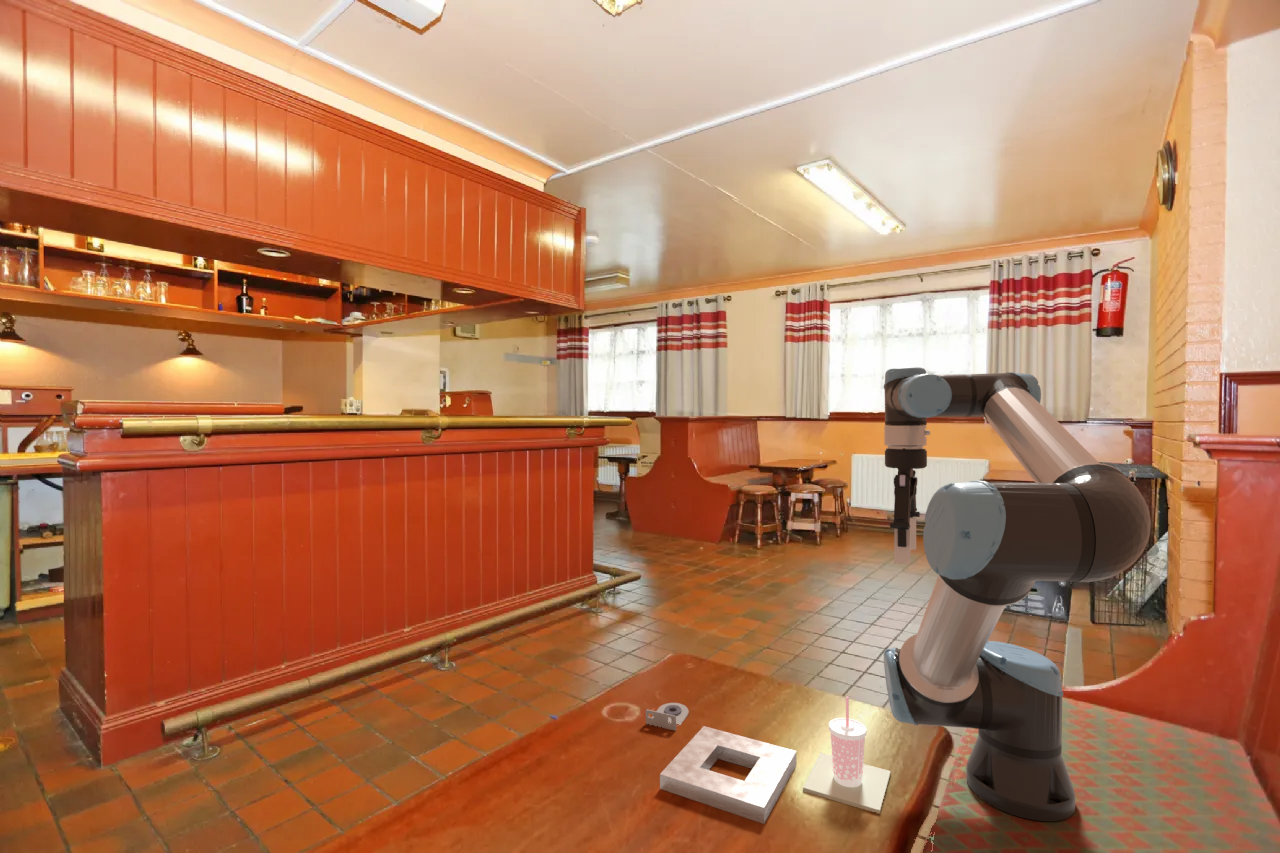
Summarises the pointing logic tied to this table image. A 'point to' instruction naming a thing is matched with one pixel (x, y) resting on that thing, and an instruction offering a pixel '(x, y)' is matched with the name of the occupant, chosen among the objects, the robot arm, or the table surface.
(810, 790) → the beige pad
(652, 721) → the bracket
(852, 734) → the beverage cup
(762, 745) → the white square frame
